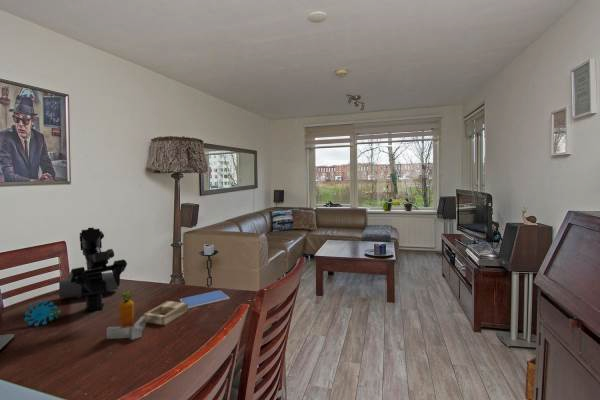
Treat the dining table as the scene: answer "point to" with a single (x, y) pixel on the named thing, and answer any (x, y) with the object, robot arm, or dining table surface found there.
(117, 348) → the dining table surface
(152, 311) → the socket block
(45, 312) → the gear
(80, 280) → the robot arm
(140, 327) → the v-block
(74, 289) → the bluetooth speaker
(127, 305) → the carrot
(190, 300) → the tablet computer
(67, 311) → the dining table surface
